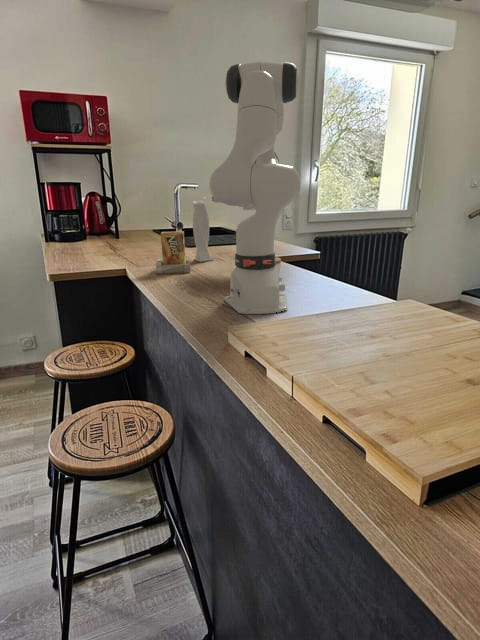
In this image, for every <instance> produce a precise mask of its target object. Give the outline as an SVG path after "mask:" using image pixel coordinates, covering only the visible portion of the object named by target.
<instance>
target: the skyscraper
mask: <svg viewBox="0 0 480 640" xmlns="http://www.w3.org/2000/svg"><path fill="white" fill-rule="evenodd" d="M191 204H192V207H193V216H192V230H193V231H192V232H193V233H192V234H193V239H194V244H195V248H196V253H195V257H194V259H193V261H194V260H196V261H195V262H198V263H207V262H212V261H215V258H214V259H213V258H211V257H210V252H209V250H208V247H209V241H210V218H209V215H208V211H207V206H208V199H207V198H206V197H205V196H204V197H203V198H202V200H197V201H195V200H193V201H192V203H191Z"/></svg>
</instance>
